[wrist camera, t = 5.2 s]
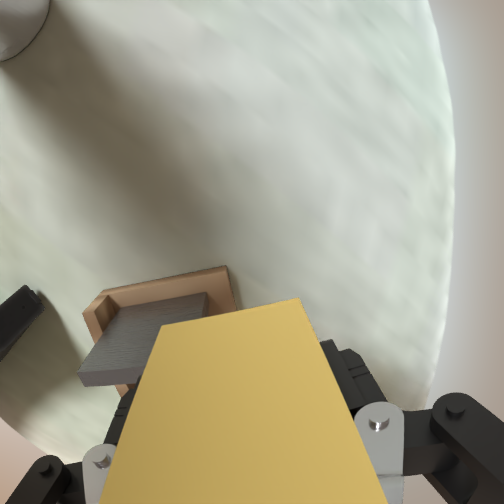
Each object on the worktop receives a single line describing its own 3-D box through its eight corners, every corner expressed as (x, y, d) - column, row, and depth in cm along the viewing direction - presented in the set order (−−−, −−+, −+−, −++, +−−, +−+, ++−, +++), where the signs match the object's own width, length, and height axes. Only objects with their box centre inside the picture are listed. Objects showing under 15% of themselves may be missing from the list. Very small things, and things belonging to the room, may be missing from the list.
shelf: (103, 290, 28) (45, 355, 17) (226, 265, 28) (221, 332, 17) (159, 420, 33) (142, 498, 22) (261, 408, 33) (272, 491, 22)
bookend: (120, 307, 27) (77, 372, 17) (206, 291, 27) (192, 359, 17) (125, 319, 27) (84, 386, 18) (209, 304, 27) (199, 376, 18)
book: (161, 325, 12) (90, 531, 4) (298, 297, 12) (389, 505, 4) (187, 391, 13) (162, 578, 5) (310, 367, 13) (373, 555, 5)
